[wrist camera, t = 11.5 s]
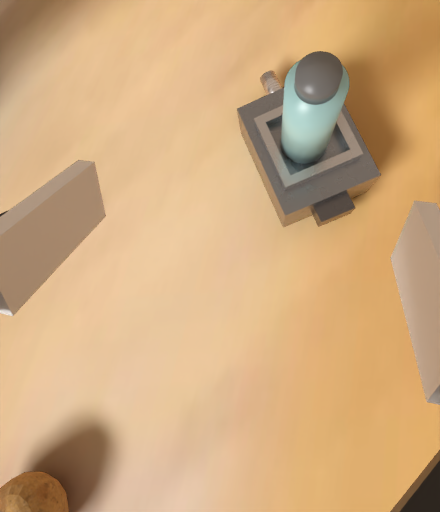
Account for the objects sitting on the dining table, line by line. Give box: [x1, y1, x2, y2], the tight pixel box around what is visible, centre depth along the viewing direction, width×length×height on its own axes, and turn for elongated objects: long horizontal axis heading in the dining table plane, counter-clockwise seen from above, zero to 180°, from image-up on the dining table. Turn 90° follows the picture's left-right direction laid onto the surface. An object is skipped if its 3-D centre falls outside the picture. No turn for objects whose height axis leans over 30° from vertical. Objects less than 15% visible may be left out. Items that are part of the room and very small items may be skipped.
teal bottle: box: [281, 51, 349, 164], centre depth 33 cm, size 5×5×12 cm
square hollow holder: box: [237, 71, 381, 227], centre depth 42 cm, size 20×11×7 cm, turn 22°
